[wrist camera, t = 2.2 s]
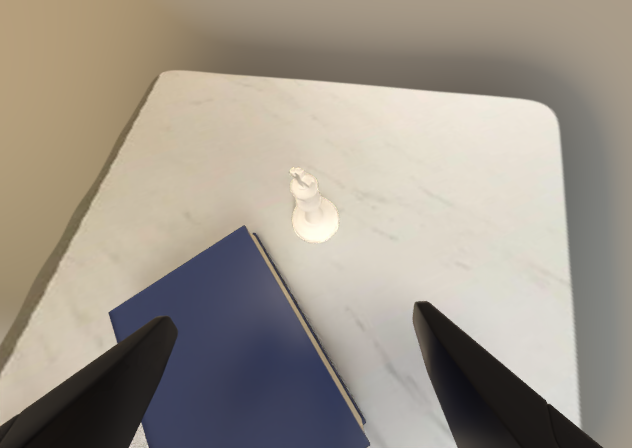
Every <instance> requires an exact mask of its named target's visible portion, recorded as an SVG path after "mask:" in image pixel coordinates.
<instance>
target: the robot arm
mask: <svg viewBox="0 0 632 448" xmlns="http://www.w3.org/2000/svg"><path fill="white" fill-rule="evenodd" d="M413 325H414V329H415V332H416V335H417V339H418V342H419V346H420V349H421V353H422V356H423V359H424V363H425V366H426V369H427V372H428V375H429V378H430V380H431V383H432V385H433V388H434V390H435V393H436V395H437V398H438V400H439V403H440V405H441V408H442V410H443V412H444V415H445V417H446V420H447V422H448V425H449V427H450V430H451V432H452V435H453V437H454V440H455V442H456V445H457V447H458V448H603V447H602V446H600V445H599V444H598V443H597V442H595V441H594V440H593V439H592V438H591V437H589V436H588V435H587V434H586V433H584V432H583V431H582V430H581V429H580V428H578V427H577V426H576V425H575V424H573V423H572V422H571V421H570V420H569V419H567V418H566V417H565V416H564V415H563V414H561V413H560V412H559V411H558V410H557V409H555V408H554V407H553V406H552V405H551V404H547V402H546V400H545V399H543V398H542V397H541V396H540V395H539V394H537V393H536V392H535V391H534V390H533V389H532V388H530V387H529V386H528V385H527V384H526V383H524V382H523V381H522V380H521V379H520V378H518V377H517V376H516V375H515V374H514V373H513V372H511V371H510V370H509V369H508V368H507V367H505V366H504V365H503V364H502V363H501V362H499V361H498V360H497V359H496V358H495V357H493V356H492V355H491V354H490V353H489V352H488V351H486V350H485V349H484V348H483V347H482V346H480V345H479V344H478V343H477V342H476V341H474V340H473V339H472V338H471V337H470V336H469V335H467V334H466V333H465V332H464V331H463V330H461V329H460V328H459V327H458V326H457V325H455V324H454V323H453V322H452V321H451V320H450V319H448V318H447V317H446V316H445V315H444V314H442V313H441V312H440V311H439V310H438V309H436V308H435V307H434V306H433V305H432V304H431V303H429V302H427V301H418V302H415V304H414V310H413ZM177 336H178V329H177V327H176V326H175V324H174V322H173V321H172V319H171V318H170V317H169V316H158V317H155V318H154V319H152V320H151V321H149V322H148V323H147V324H145V325H144V326H142V327H141V328H139V329H138V330H137V331H135V332H134V333H132V334H131V335H130V336H128V337H127V338H125V339H124V340H122V341H121V342H120V343H118V344H117V345H115V346H114V347H112V348H111V349H110V350H108V351H107V352H105V353H104V354H103V355H101V356H100V357H98V358H97V359H95V360H94V361H93V362H91V363H90V364H88V365H87V366H86V367H84V368H83V369H81V370H80V371H78V372H77V373H76V374H74V375H73V376H71V377H70V378H68V379H67V380H66V381H64V382H63V383H61V384H60V385H59V386H57V387H56V388H54V389H53V390H51V391H50V392H49V393H47V394H46V395H44V396H43V397H42V398H40V399H39V400H37V401H36V402H34V403H33V404H32V405H30V406H29V407H27V408H26V409H24V410H23V411H22V412H21V413H20V414H18V415H16V416H14V417H13V418H12V419H10V420H9V421H7V422H6V423H5V424H3V425H2V426H0V448H129V446H130V444H131V442H132V440H133V438H134V435H135V433H136V431H137V429H138V427H139V425H140V423H141V421H142V419H143V417H144V415H145V412H146V410H147V408H148V406H149V404H150V402H151V400H152V398H153V396H154V394H155V391H156V389H157V387H158V385H159V383H160V381H161V378H162V376H163V373H164V371H165V368H166V365H167V363H168V360H169V358H170V355H171V352H172V350H173V347H174V344H175V342H176V339H177Z"/></svg>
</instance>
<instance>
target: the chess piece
mask: <svg viewBox="0 0 632 448" xmlns="http://www.w3.org/2000/svg"><path fill="white" fill-rule="evenodd" d="M289 173H290V175H291V176H292V177H294V178H293V180H292V181H291V184H290V191H291V193H292V194H293V196H294V197H296V205H297V206H296V208H295V210H294V212H293V215H292V224H293V228H294V231H295V233H296V234H297V235H298V236H299V237H300V238H301V239H302V240H304V241H306V242H309V243H321V242H324V241H327V240H328V239H330V238H331V237H332V236H333V235H334V234H335V233H336V231H337V229H338V226H339V221H340V219H339V213H338V211H337V209H336V207H335V206H334V204H333V203H332V202H330V201H329V200H327V199H325V198H323V197H321V194H320V192H319V191H318V182H317V180H316V178H315V177H314V176H313V175H311V174H308V173H305V172H304V170H303V169H301V168H300V167H298V168H297V169H295V168H294V167H293V168H292V169H291V170H290V171H289Z"/></svg>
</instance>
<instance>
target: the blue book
mask: <svg viewBox="0 0 632 448" xmlns="http://www.w3.org/2000/svg"><path fill="white" fill-rule="evenodd" d="M109 316H110V319H111V323H112V326H113V329H114V333H115V336H116V339H117V343H120V342H121V341H122V340H124V339H125V338H127V337H128V336H130V335H131V334H132V333H134V332H135V331H137V330H138V329H139V328H141V327H142V326H144V325H145V324H147V323H148V322H149V321H151V320H152V319H154V318H155V317H158V316H169V317H170V318H171V319H172V321H173V322H174V324H175V326H176V327H177V329H178V336H177V339H176V342H175V344H174V347H173V350H172V352H171V355H170V358H169V360H168V363H167V365H166V368H165V371H164V373H163V376H162V378H161V381H160V383H159V385H158V387H157V389H156V391H155V394H154V396H153V398H152V400H151V402H150V404H149V406H148V408H147V410H146V412H145V415H144V417H143V419H142V421H141V423H142V426H143V429H144V433H145V436H146V439H147V443H148V446H149V448H367V447H368V446H370V442H369V440H368V438H367V437H366V435H365V433H364V430H363V425H364V424H365V423H366V421H365V419H364V417H363V416H362V414H361V412H360V410H359V409H358V407H357V405H356V404H355V402H354V400H353V399H352V397H351V395H350V393H349V392H348V390H347V388H346V387H345V385H344V383H343V381H342V380H341V378H340V376H339V375H338V373H337V371H336V369H335V368H334V366H333V364H332V363H331V361H330V359H329V358H328V356H327V354H326V352H325V351H324V349H323V347H322V346H321V344H320V342H319V340H318V339H317V337H316V335H315V334H314V332H313V330H312V329H311V327H310V325H309V323H308V322H307V320H306V318H305V317H304V315H303V313H302V311H301V310H300V308H299V306H298V305H297V303H296V301H295V299H294V298H293V296H292V294H291V293H290V291H289V289H288V288H287V286H286V284H285V282H284V281H283V279H282V277H281V276H280V274H279V272H278V270H277V269H276V267H275V265H274V264H273V262H272V260H271V258H270V257H269V255H268V253H267V252H266V250H265V248H264V247H263V245H262V243H261V241H260V240H259V238H258V236H257V235H256V233H253V234H251V233H250V232H248V230H247V228H246V226H245V225H243V226H242V227H240V228H239V229H237V230H236V231H234V232H233V233H231V234H230V235H228V236H226V237H225V238H223V239H222V240H220V241H219V242H217V243H216V244H214V245H212V246H211V247H209V248H208V249H206V250H205V251H203V252H202V253H200V254H198V255H197V256H195V257H194V258H192V259H191V260H189V261H188V262H186V263H184V264H183V265H181V266H180V267H178V268H177V269H175V270H174V271H172V272H170V273H169V274H167V275H166V276H164V277H163V278H161V279H160V280H158V281H157V282H155V283H153V284H152V285H150V286H149V287H147V288H146V289H144V290H143V291H141V292H139V293H138V294H136V295H135V296H133V297H132V298H130V299H129V300H127V301H125V302H124V303H122V304H121V305H119V306H118V307H116V308H115V309H113V310H111V311H110V312H109Z"/></svg>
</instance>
